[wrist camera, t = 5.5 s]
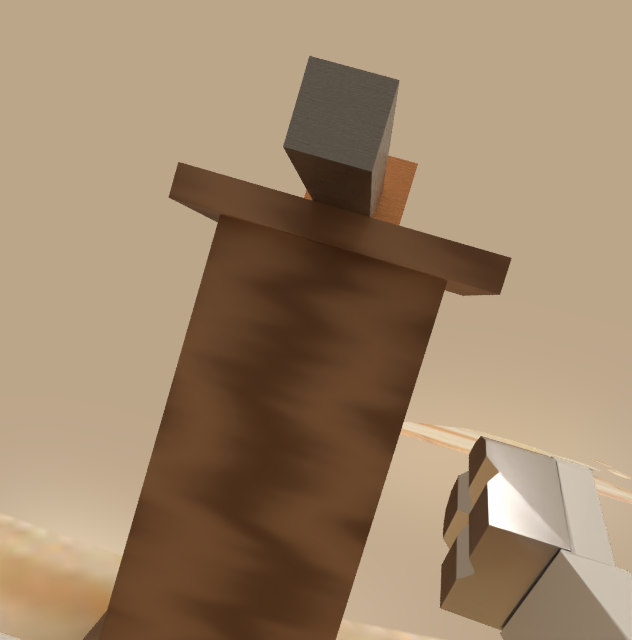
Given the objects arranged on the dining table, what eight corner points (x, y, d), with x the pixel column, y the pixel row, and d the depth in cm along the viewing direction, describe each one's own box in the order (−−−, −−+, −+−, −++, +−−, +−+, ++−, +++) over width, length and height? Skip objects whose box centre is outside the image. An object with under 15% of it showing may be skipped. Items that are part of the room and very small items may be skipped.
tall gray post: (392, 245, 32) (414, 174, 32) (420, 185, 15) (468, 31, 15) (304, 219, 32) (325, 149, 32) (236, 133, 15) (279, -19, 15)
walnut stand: (334, 699, 34) (469, 269, 33) (321, 864, 24) (514, 256, 23) (111, 620, 35) (231, 200, 34) (10, 748, 25) (174, 159, 24)
